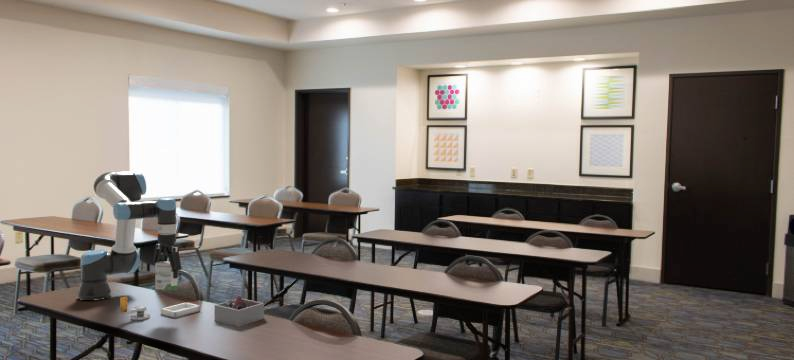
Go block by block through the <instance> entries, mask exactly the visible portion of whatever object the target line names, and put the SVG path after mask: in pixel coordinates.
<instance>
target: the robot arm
mask: <svg viewBox="0 0 794 360" xmlns="http://www.w3.org/2000/svg"><path fill="white" fill-rule="evenodd" d="M93 183H94V184H93V191H94V193H95V194H96V196H97V197H99V198H101V199H102V200H105V202H107V203H108V204H109V205H110V206H111V207H112V208H113V209H112V213H113V216H114V219H115V220H116V227H115V229H116V230H115V231H116V232H115V239H114V241H115V243H114V244H113V245H112V246H111V248H110V249H111V251H107V249H94V250H89V251H86V252H84V253H82V255H81V258H80V276H81V277H80V282H81V283H80V286H79V289H78V292H77V300H78V299H82V300H94V299H102V298H107V297H109V296H111V297H112V290H111V288H110V285H109V283H108V282H109V281H108V276H111V275H112V276H113V275H121V274H128V273H133V272H135V271H137V270H138V267H139V266H140V261H141V258H140V255H141V254H140V251H139V250H138V249H137V247H136V246H135V244H134V243H135V232H136V220H142V219H154V218H155V219H157V243H156V244H155V245H154V255H153V261H152V266H154V267H155V263H157V262H160V261H165V257H166V258H168V261H169V262H170V265H171V268H172V270H171V286H175V285H177V278H178V279H179V271H181V270H182V265H181V259H180V257H181V256H180V247H179V246H177V247H176V246H175V244H174V243H176V242H177V234H176V233H177V224H176V223H177V220H176V219H177V203H176V199H175V198H173V197H171V198H170V197H160V198H158V199H154V200H148V201H141V199H142V196H144V195H145V194H146V193H147V182H146V179H145V176H144V174H143V173H142V172H140V171H133V170H131V171H108V172H105V173H102V174H101V175H99V176H98V177H96V179H95V181H94V182H93ZM174 267H175V268H174ZM109 298H110V297H109ZM107 299H108V298H107Z"/></svg>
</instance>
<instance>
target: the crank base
mask: <svg viewBox="0 0 794 360" xmlns="http://www.w3.org/2000/svg"><path fill="white" fill-rule="evenodd" d="M148 319H151V314H150V313H147V312H145V311H143V312H136V313H133V314H132V315H130V320H131V321H145V320H148Z"/></svg>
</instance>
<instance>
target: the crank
mask: <svg viewBox="0 0 794 360" xmlns="http://www.w3.org/2000/svg"><path fill="white" fill-rule="evenodd" d="M119 300H120V315H121V316H127V315H131V314H136V313H137V312H143V311H144V312H146V311H147V309H148V308H147V306H144V305H143V306H142V305H139V306H135V307H134V308H130V309H128V296H127V295H126V296H125V295H123V296H120V299H119Z"/></svg>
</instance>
